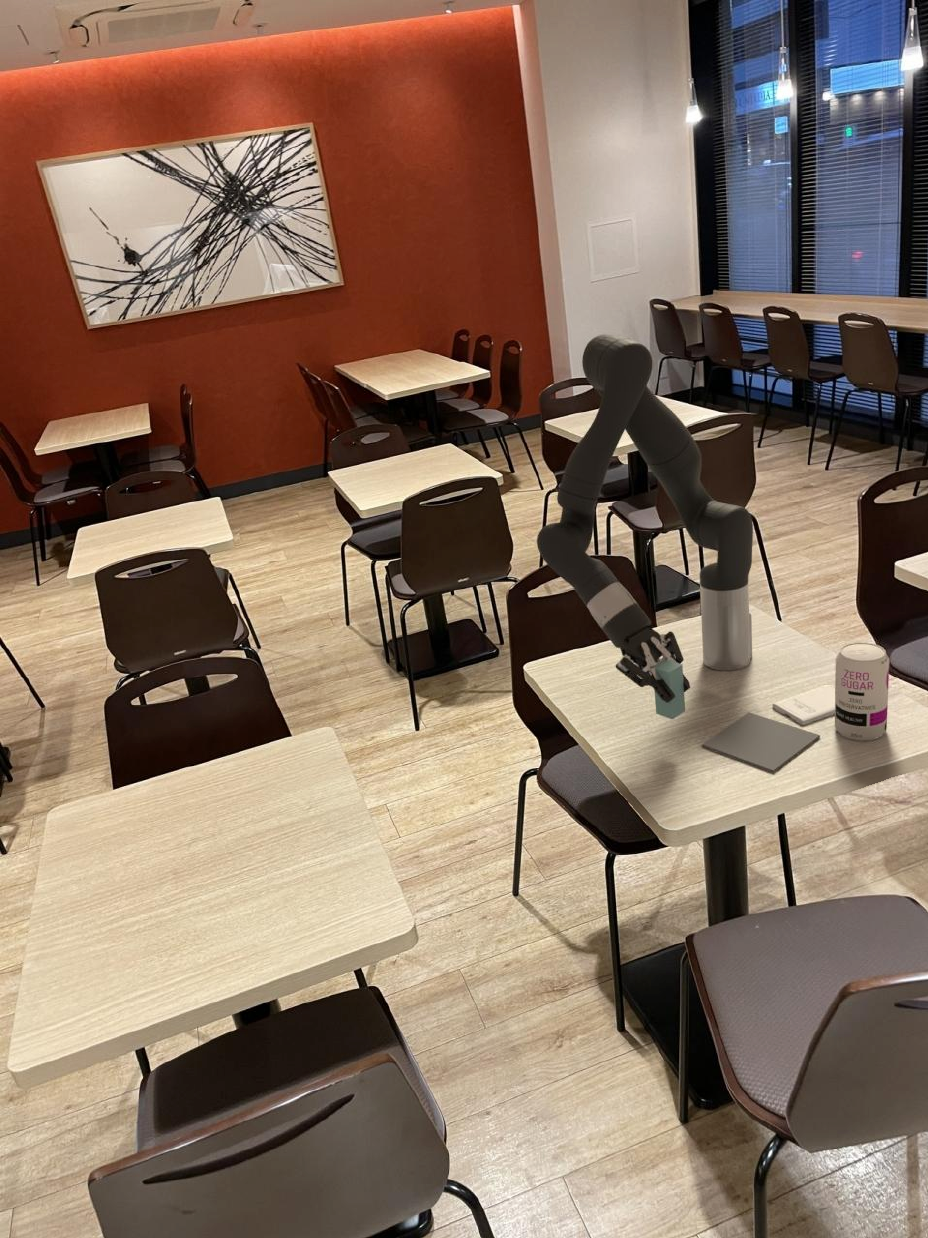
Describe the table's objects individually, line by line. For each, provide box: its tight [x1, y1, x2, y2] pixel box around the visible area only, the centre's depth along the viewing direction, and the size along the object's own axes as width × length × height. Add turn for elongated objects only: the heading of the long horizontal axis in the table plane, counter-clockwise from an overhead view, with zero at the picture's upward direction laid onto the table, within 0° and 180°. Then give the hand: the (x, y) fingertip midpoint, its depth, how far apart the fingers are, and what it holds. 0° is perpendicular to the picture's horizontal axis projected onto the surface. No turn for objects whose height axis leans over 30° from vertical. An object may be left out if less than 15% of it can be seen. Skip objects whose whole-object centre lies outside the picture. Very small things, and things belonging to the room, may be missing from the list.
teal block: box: [653, 660, 686, 720], centre depth 160 cm, size 4×4×9 cm
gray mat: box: [701, 711, 821, 774], centre depth 162 cm, size 14×14×1 cm
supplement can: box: [834, 642, 890, 742], centre depth 158 cm, size 8×8×15 cm
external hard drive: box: [772, 684, 835, 726], centre depth 170 cm, size 2×8×12 cm
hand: (678, 694), depth 159 cm, fingers closed on teal block, 3 cm apart
